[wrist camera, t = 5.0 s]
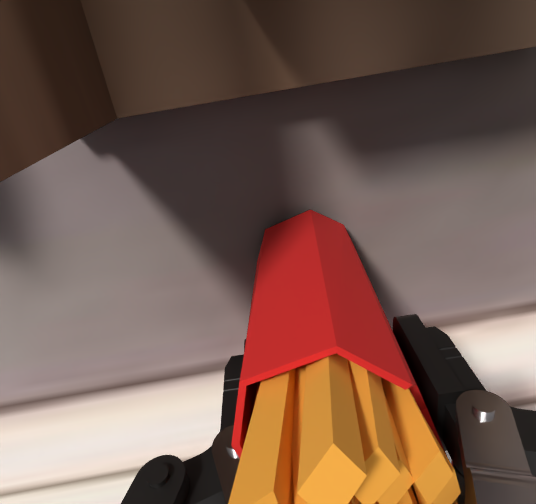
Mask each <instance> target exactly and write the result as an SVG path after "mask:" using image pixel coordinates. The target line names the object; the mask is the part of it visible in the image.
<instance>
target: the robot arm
mask: <svg viewBox="0 0 536 504" xmlns="http://www.w3.org/2000/svg"><path fill="white" fill-rule="evenodd" d="M393 333H394V336H395V338H396V340H397V342H398V345H399V347H400V349H401V351H402V353H403V356H404V358H405V360H406V362H407V365H408V367H409V369H410V371H411V373H412V376H413V378H414V380H415V382H416V385H417V387H418V389H419V391H420V393H421V396H422V398H423V400H424V402H425V405H426V407H427V409H428V412H429V414H430V416H431V419H432V421H433V424H434V426H435V429H436V431H437V433H438V436H439V438H440V441H441V443H442V446H443V448H444V450H445V451H446V450H447V451H448V453H449V455H450V457H451V459H452V463H451V465H452V466H453V468H454V470H455V473H456V476H457V480H458V484H459V488H460V491H461V493H460V494H459V496H458V497H457V498H456V501H457V503H458V504H536V411H532V410H523V409H517V408H513V407H510V406H509V405H508V404H507V403H506V401H504V400H503V399H502V398H501V397H499V396H497V395H495V394H493V393H491V392H488V391H486V390H485V388H484V387H483V385H482V384H481V382H480V381H479V380H478V378H477V377H476V375H475V374H474V372H473V371H472V369H471V368H470V367H469V365H468V364H467V362H466V361H465V359H464V358H463V357H462V356H461V354H460V352H459V351H458V349H457V348H455V345H454V344H453V342H452V341H451V339H450V338H449V336H448V335H447V334H445V333H444V332H442V331H441V330H439V329H438V328H436V327H428V328H425V326H424V325H423V323H422V322H421V320H420V318H419V317H418V316H417V315H416V314H413V315H406V316H400V317H394V319H393ZM245 345H246V339H245V342H244V352H245ZM243 358H244V355H238V356H232V357H231V358H230V360H229V362H228V364H227V365H226V367H225V375H224V389H223V390H224V392H223V402H222V416H221V429H220V433H219V434H218V435H217V436H216V438H215V439H214V441H213V444H212V446H211V447H210V448H209V449H208V450H206V451H205V452H203V453H201V454H200V455H197V456H195V457H193V458H191V459H189V460H186V461H184V462H182V461H181V460H180V459H179V458H178V457H176V456H172V455H162V456H159V457H156V458H154V459H152V460H150V461H149V462H147V463H146V464H145V465H144V466H143V467H142V468H141V469H140V470H139V472H138V473H137V475H136V477H135V479H134V481H133V482H132V484H131V486H130V488H129V490H128V492H127V493H126V495H125V497H124V499H123V501H122V503H121V504H228V502H229V499H230V495H231V491H232V487H233V484H234V480H235V476H236V472H237V468H238V465H239V461H240V458H239V456H238V455H237V453H236V452H235V450H234V449H233V447H232V446H231V444H232V436H233V429H234V421H235V413H236V405H237V397H238V390H239V382H240V376H241V370H242V364H243Z"/></svg>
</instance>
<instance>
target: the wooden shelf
mask: <svg viewBox="0 0 536 504" xmlns="http://www.w3.org/2000/svg"><path fill="white" fill-rule="evenodd" d="M531 47H536V0H0V182H1V181H3V180H4V179H6V178H8V177H10V176H12V175H14V174H16V173H17V172H19V171H21V170H23V169H25V168H27V167H28V166H30V165H32V164H34V163H36V162H38V161H40V160H41V159H43V158H45V157H47V156H49V155H51V154H52V153H54V152H56V151H58V150H60V149H62V148H64V147H65V146H67V145H69V144H71V143H73V142H75V141H76V140H78V139H80V138H82V137H84V136H86V135H88V134H89V133H91V132H93V131H95V130H97V129H99V128H100V127H102V126H104V125H106V124H108V123H110V122H112V121H113V120H115V119H117V118H123V117H128V116H134V115H140V114H146V113H152V112H157V111H163V110H169V109H175V108H181V107H187V106H192V105H198V104H204V103H210V102H216V101H222V100H227V99H233V98H239V97H245V96H251V95H257V94H262V93H268V92H274V91H280V90H286V89H292V88H297V87H303V86H309V85H315V84H321V83H327V82H332V81H338V80H344V79H350V78H356V77H362V76H367V75H373V74H379V73H385V72H391V71H397V70H402V69H408V68H414V67H420V66H426V65H431V64H437V63H443V62H449V61H455V60H461V59H466V58H472V57H478V56H484V55H490V54H496V53H501V52H507V51H513V50H519V49H525V48H531Z"/></svg>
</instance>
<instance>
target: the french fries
mask: <svg viewBox="0 0 536 504" xmlns="http://www.w3.org/2000/svg"><path fill="white" fill-rule="evenodd" d="M231 446H232V447H233V449H234V450H235V452H236V453H237V455H238V456H239V458H240V461H239V465H238V468H237V472H236V476H235V480H234V484H233V487H232V491H231V495H230V499H229V502H228V504H458V503H457V501H456V498H457V497H458V496H459V494H460V493H461V491H460V488H459V484H458V480H457V476H456V473H455V470H454V468H453V466H452V465H451V463H450V461H449V459H448V458H447V455H446V453H445V450H444V448H443V446H442V443H441V441H440V438H439V436H438V433H437V431H436V429H435V426H434V424H433V421H432V419H431V416H430V414H429V412H428V409H427V407H426V405H425V402H424V400H423V398H422V396H421V393H420V391H419V389H418V387H417V385H416V382H415V380H414V378H413V376H412V373H411V371H410V369H409V367H408V365H407V362H406V360H405V358H404V356H403V353H402V351H401V349H400V347H399V345H398V342H397V340H396V338H395V336H394V333H393V331H392V329H391V327H390V325H389V322H388V320H387V318H386V316H385V313H384V311H383V309H382V307H381V304H380V302H379V300H378V298H377V296H376V293H375V291H374V289H373V287H372V284H371V282H370V280H369V278H368V276H367V273H366V271H365V269H364V267H363V264H362V262H361V260H360V258H359V256H358V253H357V251H356V249H355V247H354V245H353V243H352V241H351V239H350V237H349V235H348V233H347V230H346V228H345V226H344V225H343V224H341V223H339V222H336V221H334V220H332V219H330V218H328V217H326V216H323V215H321V214H319V213H317V212H315V211H313V210H308V211H306V212H304V213H301V214H299V215H297V216H294V217H292V218H290V219H288V220H285V221H283V222H281V223H279V224H276V225H274V226H272V227H270V228H267V229H265V233H264V237H263V241H262V245H261V249H260V253H259V257H258V261H257V267H256V274H255V281H254V288H253V295H252V302H251V309H250V316H249V324H248V331H247V338H246V345H245V352H244V358H243V364H242V370H241V376H240V382H239V390H238V397H237V405H236V413H235V421H234V429H233V436H232V444H231Z"/></svg>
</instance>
